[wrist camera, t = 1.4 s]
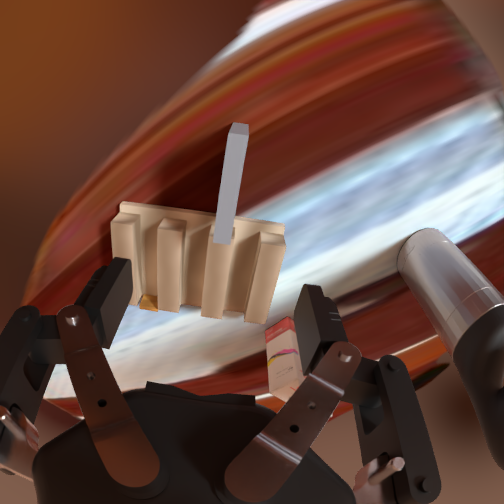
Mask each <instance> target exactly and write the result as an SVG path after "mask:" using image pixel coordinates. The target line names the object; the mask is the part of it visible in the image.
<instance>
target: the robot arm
mask: <svg viewBox="0 0 504 504" xmlns="http://www.w3.org/2000/svg"><path fill="white" fill-rule="evenodd" d="M397 268H398V271H399V273H400V275H401V276H402V278H403V279H404V281H405V282H406V284H407V285H408V287H409V289H410V290H411V292H412V293H413V295H414V296H415V298H416V299H417V301H418V303H419V304H420V306H421V307H422V309H423V311H424V312H425V314H426V315H427V317H428V319H429V320H430V322H431V324H432V325H433V327H434V329H435V330H436V332H437V334H438V335H439V337H440V339H441V340H442V342H443V344H444V345H445V347H446V349H447V351H448V353H449V354H450V356H451V358H452V360H453V362H454V363H455V365H456V367H457V369H458V371H459V374H460V377H461V379H462V381H463V384H464V386H465V388H466V390H467V392H468V394H469V396H470V399H471V401H472V404H473V406H474V409H475V411H476V414H477V417H478V419H479V422H480V425H481V428H482V431H483V434H484V437H485V439H486V443H487V445H488V448H489V450H490V452H491V455H492V457H493V459H494V460H495V462H496V463H497V465H498V466H499V467H501V469H503V470H504V387H503V388H502V381H503V377H504V297H503V296H502V295H501V294H500V292H499V291H498V290H497V289H496V288H495V287H494V286H493V284H492V283H491V282H490V281H489V280H488V279H487V278H486V277H485V276H484V274H483V273H482V272H481V271H480V270H479V269H478V268H477V267H476V266H475V265H474V264H473V263H472V262H471V261H470V260H469V259H468V258H467V257H466V256H465V254H464V253H463V252H462V251H461V250H460V249H459V248H458V247H457V246H456V245H455V244H454V243H453V242H452V241H450V240H449V239H448V238H447V237H446V236H445V235H444V234H443V233H442V232H441V231H439V230H438V229H434V228H427V229H423V230H420V231H418V232H416V233H415V234H414V235H412V236H411V237H410V238H409V239H408V240H407V241H406V242H405V244H404V245H403V247H402V249H401V250H400V253H399V256H398V261H397ZM132 293H133V277H132V263H131V259H127V258H121V257H114V258H113V260H112V261H111V263H110V265H109V266H102V267H101V268H99V269H98V270H96V271H95V273H94V274H93V275H92V277H91V280H89V281H88V283H87V285H86V286H85V288H84V289H83V291H82V292H81V294H80V295H79V297H78V298H77V300H76V302H75V303H74V305H68V306H66V307H64V308H62V309H61V310H60V311H59V312H58V314H57V315H40V312H39V310H38V309H37V308H36V307H34V306H31V305H27V306H23V307H20V308H19V309H17V310H16V311H15V312H14V314H13V315H12V317H11V319H10V320H9V322H8V323H7V325H6V326H5V328H4V330H3V331H2V333H1V335H0V470H1V471H2V472H4V473H6V474H8V475H14V474H17V475H19V476H21V477H23V478H25V479H28V480H30V481H32V482H34V486H35V490H36V494H37V504H429V503H431V502H433V501H434V500H435V499H436V498H437V497H438V496H439V494H440V491H441V480H440V476H439V471H438V468H437V463H436V460H435V456H434V452H433V448H432V445H431V441H430V437H429V434H428V431H427V427H426V424H425V421H424V417H423V414H422V411H421V408H420V405H419V402H418V399H417V396H416V393H415V390H414V387H413V384H412V382H411V379H410V376H409V373H408V371H407V368H406V366H405V364H404V363H403V361H402V360H401V359H399V358H398V357H396V356H393V355H385V356H383V357H381V359H380V360H379V362H378V361H374V360H371V359H367V358H364V357H362V356H361V353H360V351H359V350H358V349H357V347H355V346H354V345H352V344H351V343H349V342H348V339H347V336H346V333H345V330H344V327H343V324H342V321H341V318H340V315H339V312H338V310H337V307H336V305H335V303H334V302H333V301H332V300H331V299H330V298H329V297H324V295H323V292H322V289H321V286H318V285H309V284H304V285H303V287H302V290H301V293H300V296H299V299H298V302H297V305H296V308H295V311H294V325H295V331H296V337H297V342H298V348H299V354H300V360H301V366H302V372H303V376H307V377H306V378H305V380H304V381H303V382H302V384H301V385H300V386H299V387H298V389H297V390H296V391H295V392H294V394H293V395H292V396H291V397H290V399H289V400H288V401H287V402H286V403H285V405H284V406H283V407H282V408H281V410H280V411H279V412H278V413H277V414H276V413H275V412H274V411H272V410H271V409H269V408H267V407H265V406H262V405H260V404H257V403H255V396H254V395H241V394H230V393H227V394H218V395H208V396H199V395H196V394H193V393H190V392H187V391H185V390H182V389H180V388H177V387H175V386H171V385H165V384H159V383H154V382H149V381H147V384H146V388H145V389H135V390H131V391H128V392H125V393H123V394H122V392H121V390H120V388H119V386H118V384H117V382H116V380H115V378H114V375H113V373H112V371H111V369H110V366H109V364H108V362H107V359H106V357H105V355H104V352H103V350H102V348H106V349H110V346H111V344H112V341H113V339H114V336H115V334H116V332H117V329H118V327H119V325H120V322H121V320H122V318H123V316H124V313H125V311H126V309H127V307H128V304H129V302H130V300H131V297H132ZM56 364H66V366H67V369H68V373H69V376H70V379H71V382H72V385H73V388H74V391H75V394H76V397H77V400H78V403H79V405H80V408H81V411H82V413H83V416H84V418H85V419H83V420H82V421H80V422H79V423H77V424H75V425H74V426H72V427H71V428H69V429H68V430H66V431H65V432H63V433H62V434H60V435H59V436H57V437H56V438H54V439H53V440H51V441H50V442H48V443H46V444H45V445H43V446H42V447H41V448H40V449H38V439H39V436H38V432H37V430H36V428H35V427H34V422H35V419H36V416H37V412H38V410H39V406H40V404H41V401H42V398H43V395H44V393H45V390H46V387H47V385H48V382H49V380H50V377H51V374H52V372H53V369H54V367H55V365H56ZM339 401H344V402H348V403H352V404H353V409H354V414H355V420H356V425H357V431H358V437H359V443H360V449H361V456H362V463H363V467H362V468H361V469H360V470H359V471H358V473H357V474H356V477H355V486H354V488H353V490H352V489H351V488H350V486H349V485H348V484H347V483H346V482H345V481H344V480H343V479H342V478H341V477H340V476H339V475H338V474H337V473H335V472H334V471H333V470H332V469H331V468H330V467H329V466H328V465H327V464H326V463H325V462H324V461H323V460H322V459H321V458H320V457H319V456H318V455H317V454H316V453H315V452H314V451H313V450H312V449H311V448H310V446H311V445H312V443H313V442H314V441H315V439H316V438H317V436H318V435H319V433H320V432H321V430H322V428H323V427H324V425H325V424H326V422H327V421H328V419H329V418H330V416H331V414H332V413H333V411H334V410H335V408H336V406H337V405H338V403H339Z"/></svg>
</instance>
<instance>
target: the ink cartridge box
mask: <svg viewBox="0 0 504 504" xmlns="http://www.w3.org/2000/svg"><path fill="white" fill-rule="evenodd" d="M265 336H266V349H267V363H268V376H269V391H270V394H272V395H274V396H276V397H278V398H280V399H281V400H283V401H285V402H287V401H288V400H289V399H290V397H291V396H292V395H293V394H294V392H295V391H296V390H297V389H298V387H299V386H300V385H301V384H302V382H303V381H304V380H305V378H306V377H307V376H303V372H302V366H301V360H300V354H299V348H298V342H297V337H296V331H295V325H294V321H293V320H292V319H291V318H289V317H286V318H285V319H283V320H281V321H280V322H278V323H277V324H275V325H274V326H272V327H271V328H269V329H267V330H266V331H265ZM330 417H332V414H331V416H330Z"/></svg>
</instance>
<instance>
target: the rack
mask: <svg viewBox="0 0 504 504" xmlns="http://www.w3.org/2000/svg"><path fill="white" fill-rule="evenodd" d="M216 214H217V213H210V212H203V211H196V210H189V209H181V208H173V207H166V206H158V205H150V204H141V203H133V202H124V201H123V202H122V203H121V204H120V212H119V213H118V215H117V216H116V217H115V218H114V219H113V220H112V221H111V238H112V252H113V258H114V257H121V258H127V259H131V263H132V277H133V293H132V297H131V300H130V302H129V304H130V305H135V306H137V304H138V302H139V300H140V297H143V298H142V300H141V303H140V305H139V306H140V309H145V310H151V311H156V312H158V310H164V311H170V312H176V313H178V312H179V309H180V305H181V304H186V305H193V306H199V307H201V316H202V317H210V318H217V319H222V314H223V310H229V311H236V312H244V322H249V323H258V324H265V322H266V319H267V315H268V312H269V308H270V305H271V301H272V298H273V294H274V290H275V287H276V283H277V280H278V276H279V272H280V268H281V265H282V261H283V257H284V254H285V250H286V244H285V240H284V235H283V234H284V230H285V225H284V224H283V223H277V222H271V221H264V220H258V219H251V218H245V217H238V216H235V218H234V224H233V231H232V237H231V243H230V245H227V244H220V243H213V237H214V229H215V222H216Z"/></svg>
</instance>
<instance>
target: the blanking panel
mask: <svg viewBox="0 0 504 504" xmlns="http://www.w3.org/2000/svg"><path fill="white" fill-rule="evenodd" d="M248 137H249V132H248V124H242V123H235V122H233V124H232V126H231V129H230V131H229V133H228V139H227V146H226V152H225V158H224V165H223V172H222V178H221V185H220V192H219V199H218V207H217V214H216V222H215V229H214V237H213V243H220V244H227V245H230V243H231V237H232V231H233V224H234V218H235V212H236V206H237V200H238V194H239V188H240V182H241V176H242V171H243V165H244V159H245V153H246V148H247V142H248Z"/></svg>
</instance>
